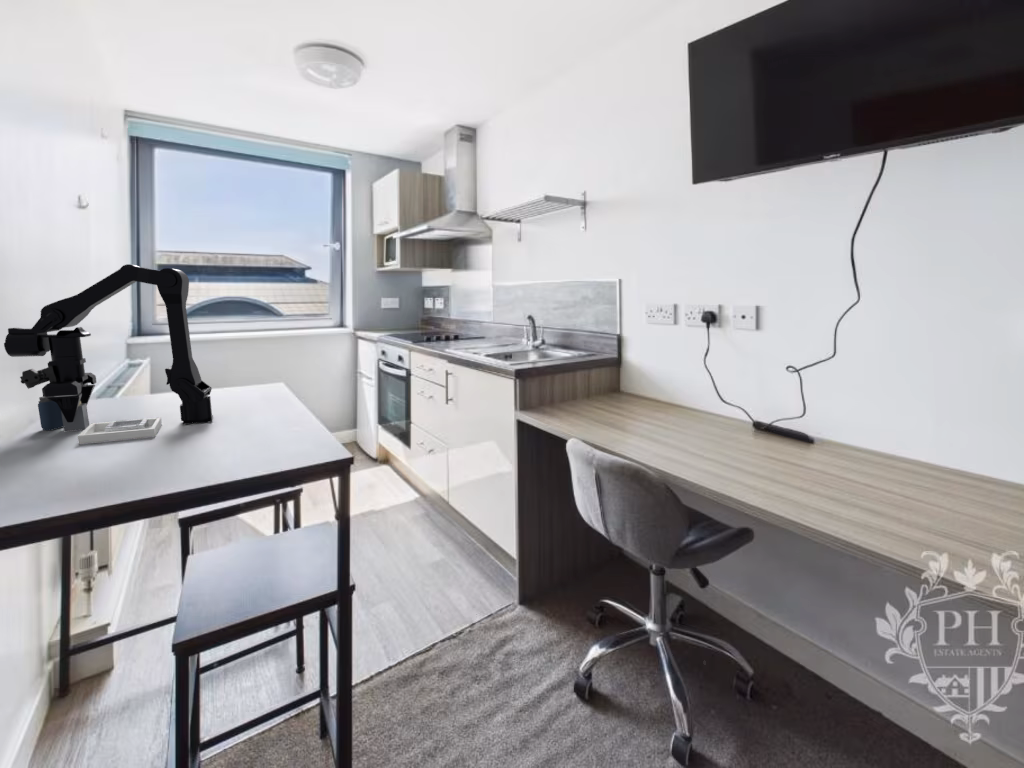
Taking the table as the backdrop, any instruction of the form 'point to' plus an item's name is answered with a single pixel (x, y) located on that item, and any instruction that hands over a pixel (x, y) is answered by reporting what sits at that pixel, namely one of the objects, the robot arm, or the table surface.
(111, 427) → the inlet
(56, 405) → the vaping device
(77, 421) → the block
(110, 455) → the table surface
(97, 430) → the walled tray
